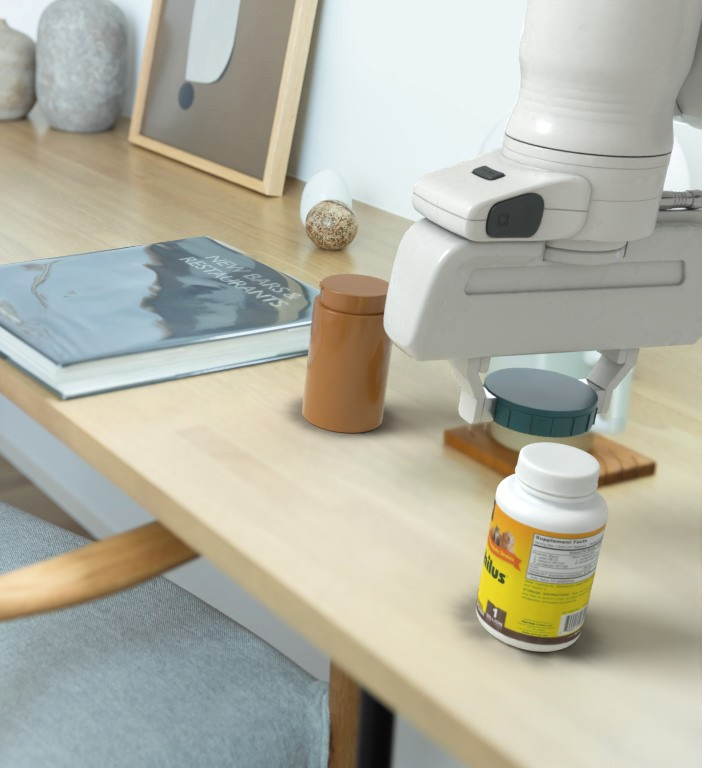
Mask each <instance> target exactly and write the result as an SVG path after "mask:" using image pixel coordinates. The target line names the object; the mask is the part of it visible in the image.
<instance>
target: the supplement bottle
mask: <svg viewBox="0 0 702 768" xmlns="http://www.w3.org/2000/svg"><path fill="white" fill-rule="evenodd" d="M517 458H518V459H517V463H516V466H515V469H514V472H515V473H513V474H511V475H508V476H507V477H505V478H504V479H503V480H501V481H500V483H499V484H498V486H497V488H496V491H495V492H496V493H495V496H494V499H493V500H494V501H493V506H492V510H491V518H490V523H489V528H488V534H487V539H486V545H485V551H484V556H483V562H482V567H481V572H480V573H481V574H480V579H479V584H478V589H477V596H476V602H475V613H476V616H477V619H478V621H479V623H480V624H481V626H482V627H483V628H484V629H485V630H486V631H487V632H488V633H489V634H490V635H492V636H493V637H494V638H496V639H497V640H499V641H501V642H502V643H505V644H507V645H509V646H512V647H514V648H517V649H521V650H525V651H531V652H541V653H543V652H544V653H545V652H555V651H560V650H563V649H566V648H568V647H570V646H572V645H573V644H575V642H576V641H577V640H578V639H579V637H580V636H581V634H582V631H583V627H584V623H585V619H586V615H587V610H588V605H589V602H590V597H591V592H592V588H593V585H594V580H595V575H596V571H597V567H598V563H599V558H600V554H601V549H602V544H603V541H604V540H603V539H604V537H605V531H606V526H607V522H608V518H609V517H608V516H609V506H608V503H607V501H606V500H605V498H604V496H603V495H602V494H601V493H600V492H599V491H597V489H598V487H599V479H600V478H599V477H600V473H601V464H600V462H599V461H598V459H597V458H596V457H595V456H593V455H592V454H590V453H589V452H587V451H585V450H583V449H580V448H578V447H575V446H572V445H568V444H563V443H558V442H548V441H547V442H545V441H544V442H535V443H530V444H527V445H525V446H523V447H522V448H521V449H520V451H519V454H518V457H517Z"/></svg>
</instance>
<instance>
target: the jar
mask: <svg viewBox="0 0 702 768" xmlns="http://www.w3.org/2000/svg"><path fill="white" fill-rule="evenodd" d="M389 282H390V281H387V280H384V279H382V278H379V277H375V276H371V275H366V274H357V273H356V274H355V273H339V274H333V275H332V274H331V275H328V276H326V277H324V278H322V280H321V281H319V284H318V285H319V288H320V290H319V293H318V294H316V295H315V296H314V298H313V303H312V312H311V313H312V314H311V321H310V330H309V331H310V333H309V342H308V351H307V358H306V370H305V377H304V378H305V379H304V386H303V387H304V389H303V397H302V408H301V415H302V417H303V418H304V419H305V420H306V421H307V422H309V423H310V424H311V425H314V426H315V427H318V428H319V429H320V428H321V429H324V430H327V431H331V432H337V433H345V434H359V433H366V432H370V431H373V430H375V429H378V428H379V427H380V426H381V425H382V423H383V419H384V411H385V404H386V396H387V389H388V381H389V376H390V375H389V374H390V366H391V360H392V352H393V345H394V344H393V342H392V341H391V340H390V338H389V337H388V335H387V333H386V332H385V329H384V310H385V303H386V297H387V292H388V287H389Z"/></svg>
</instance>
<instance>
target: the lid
mask: <svg viewBox="0 0 702 768" xmlns="http://www.w3.org/2000/svg"><path fill="white" fill-rule="evenodd" d="M482 385H483V386H484V387H485V388H486V389H488V391H489V392H490V393H492V394H493V395H495V396H496V397H498V404H497V408H496V410H495V411H494V413H495V414H496V415H495V420H494V421H493V422H492V423H495V424H497V425H499V426H500V427H503V428H506V429H508V430H510V431H511V430H512V431H514V432H517V433H521V434H526V435H530V436H535V437H540V438H541V437H542V438H555V439H556V438H560V439H561V438H571V437H577V436H580V435H584V434H586V433H588V432H589V431H590V430H591V429H592V427H593V426H594V425H595V423H596V419H597V415H598V414H597V410H598V407H597V403H598V395H597V393H596V392H595V391H594V390H593V389H592V388H591V387H590V386H588V385H587V384H585V383H584V382H582V381H580V380H579V379H578V378H575V377H573V376H571V375H567V374H564V373H560V372H556V371H552V370H547V369H541V368H533V367H507V368H502V369H497V370H494V371H492V372H489V374H487V375H486V376H485V377H484V381H483V384H482Z"/></svg>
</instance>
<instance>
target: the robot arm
mask: <svg viewBox="0 0 702 768" xmlns="http://www.w3.org/2000/svg"><path fill="white" fill-rule="evenodd" d="M521 27H522V28H521V33H520V39H519V45H518V51H517V53H518V55H517V59H518V66H519V67H518V68H519V86H518V87H519V88H518V93H517V97H516V100H515V103H514V105H513V108H512V110H511V112H510V114H509V115H508V118H507V120H506V123H505V126H504V133H503V138H502V142H501V143H502V144H501V146H500V147H497V148H494V149H491V150H489V151H487V152H484V153H482V154H480V155H477V156H475V157H472V158H470V159H467V160H464V161H462V162H459V163H456V164H454V165H450V166H448V167H444V168H441V169H439V170H436V171H433V172H430V173H427V174H424V175H423V176H421V177H419V178H418V179H417V180H416V182H415V183H414V187H413V191H412V199H411V201H412V202H411V203H412V207H413V209H414V210H415V211H416V212H417V213H419V214H420V215H421V216H423V218H421V219H419V220H417V221H415V222H414V223H413V224H412V225H410V227H409V228H408V229H407V230H406V231H405V233H404V234H403V236H402V238H401V240H400V243H399V244H398V247H397V250H396V253H395V258H394V261H393V264H392V269H391V273H390V278H389V281H388V282H389V287H388V292H387V297H386V303H385V310H384V329H385V332H386V333H387V335H388V337H389V338H390V340H391V341H392V342H393V345H394V346H395V347H396V348H398V349H399V350H400V351H401V352H403V353H404V354H405V355H407V356H408V357H409V358H411V360H414V361H416V362H433V361H434V362H435V361H448V363H449V366H450V367H451V370H452V372H453V375H454V377H455V379H456V382H457V384H458V386H459V388H460V389H461V390H460V396H459V402H458V408H457V410H458V414H459V417H460V418H461V419H463V420H464V421H465V422H466V423H468V424H469V425H477V424H486V423H494V422H493V421H494V420H495V415H496V414H495V413H494V411H495V410H496V408H497V404H498V397H496V396H495V395H493V394H492V393H490V392H489V391H488V389H486V388H485V387H484V386H483V385H484V384H483V383H482V380H481V377H480V374H486V373H488V372H489V368H490V362H491V358H497V357H498V358H499V357H514V356H515V357H516V356H531V355H548V354H549V355H550V354H563V353H566V354H567V353H580V352H581V353H582V352H597V353H599V354H600V357H599V358H598V360H597V362H596V363H595V364H594V366H593V367H592V368H591V370H590V372H589V373H588V375H587V376H586V378H581V379H578V380H580V381H582V382H584V383H585V384H587V385H588V386H590V387H591V388H592V389H593V390H594V391H595V392H596V393H597V395H598V403H597V407H598V410H597V415H602V414H607V413H608V411H609V408H610V404H611V399H612V395H613V392H614V390H616V388H617V387H618V386H619V385H620V383H622V381H623V380H624V379H625V377H627V375H628V374H629V373H630V372H631V370H632V369H633V368H634V367H635V366H636V364H637V362H638V356H639V353H640V349H644V348H663V347H679V346H693V345H695V344H697V343H698V342H699V341H700V340H701V339H702V189H699V188H692V189H686V190H685V191H684V190H680V191H678V190H671V189H665V186H666V182H667V177H668V172H669V168H670V164H671V163H670V162H671V159H672V155H673V150H674V146H675V145H674V144H675V131H674V123H675V124H680V125H685V126H689V127H691V128H694V129H697V130H700V131H701V130H702V0H527V1H526V5H525V12H524V17H523V21H522V26H521ZM479 373H480V374H479Z"/></svg>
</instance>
